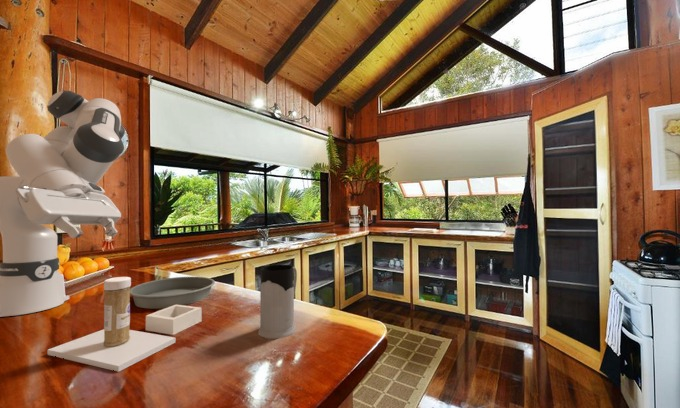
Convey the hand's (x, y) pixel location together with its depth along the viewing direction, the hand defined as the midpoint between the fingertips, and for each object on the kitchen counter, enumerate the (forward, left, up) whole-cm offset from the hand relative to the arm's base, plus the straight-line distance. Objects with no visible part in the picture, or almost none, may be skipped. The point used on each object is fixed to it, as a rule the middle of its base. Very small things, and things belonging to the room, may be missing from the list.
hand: (96, 235), depth 67 cm
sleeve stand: (+13, +10, -23) cm, 28 cm away
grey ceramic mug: (+39, +18, -23) cm, 49 cm away
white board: (+11, -3, -23) cm, 26 cm away
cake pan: (-7, +28, -24) cm, 37 cm away
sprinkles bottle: (+11, -3, -22) cm, 25 cm away
